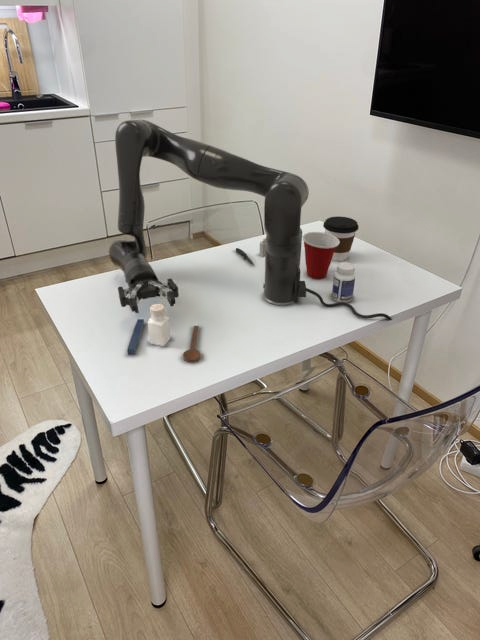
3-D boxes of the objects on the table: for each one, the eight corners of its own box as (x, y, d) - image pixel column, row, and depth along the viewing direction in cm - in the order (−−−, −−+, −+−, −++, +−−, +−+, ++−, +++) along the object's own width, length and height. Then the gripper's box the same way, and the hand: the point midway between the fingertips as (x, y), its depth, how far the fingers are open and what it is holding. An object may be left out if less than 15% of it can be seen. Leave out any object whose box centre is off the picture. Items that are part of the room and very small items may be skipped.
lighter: (262, 256, 159) (263, 233, 154) (259, 254, 160) (259, 231, 155) (278, 250, 163) (279, 227, 158) (274, 248, 164) (275, 226, 159)
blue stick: (144, 324, 123) (144, 319, 123) (134, 354, 112) (134, 349, 112) (138, 324, 123) (137, 319, 123) (127, 354, 112) (127, 349, 112)
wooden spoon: (204, 328, 122) (204, 325, 122) (200, 362, 110) (199, 359, 110) (188, 328, 122) (188, 325, 122) (182, 362, 110) (182, 359, 110)
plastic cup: (334, 285, 142) (339, 247, 136) (297, 281, 144) (300, 243, 138) (336, 269, 151) (340, 232, 145) (301, 265, 153) (304, 229, 147)
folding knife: (254, 267, 152) (254, 261, 151) (251, 267, 152) (251, 261, 151) (237, 251, 162) (237, 245, 161) (234, 251, 162) (234, 246, 161)
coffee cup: (357, 264, 154) (362, 228, 148) (322, 264, 154) (326, 228, 148) (350, 250, 163) (355, 216, 157) (318, 250, 163) (321, 215, 157)
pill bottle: (354, 295, 137) (359, 263, 132) (349, 305, 132) (354, 272, 127) (334, 291, 139) (338, 259, 134) (328, 300, 134) (332, 267, 129)
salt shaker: (148, 344, 116) (145, 309, 111) (157, 335, 119) (153, 301, 114) (163, 347, 115) (160, 312, 110) (171, 338, 118) (169, 304, 113)
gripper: (111, 268, 124) (122, 297, 111) (165, 259, 128) (183, 287, 116) (114, 294, 128) (126, 325, 115) (167, 285, 132) (184, 314, 120)
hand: (154, 306), depth 115 cm, fingers open, 8 cm apart
